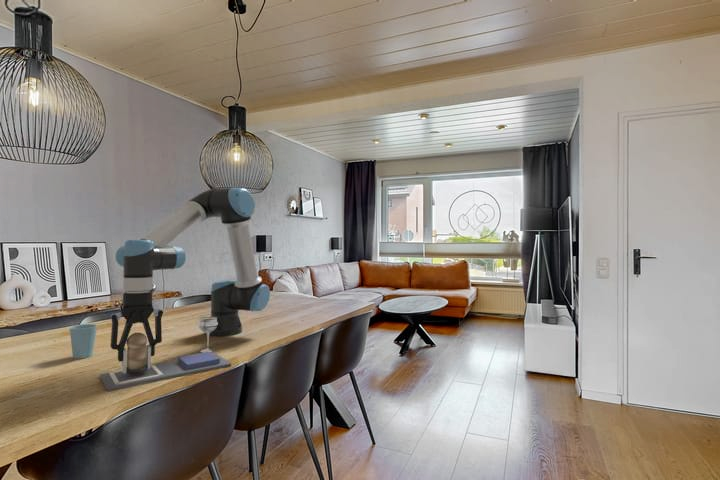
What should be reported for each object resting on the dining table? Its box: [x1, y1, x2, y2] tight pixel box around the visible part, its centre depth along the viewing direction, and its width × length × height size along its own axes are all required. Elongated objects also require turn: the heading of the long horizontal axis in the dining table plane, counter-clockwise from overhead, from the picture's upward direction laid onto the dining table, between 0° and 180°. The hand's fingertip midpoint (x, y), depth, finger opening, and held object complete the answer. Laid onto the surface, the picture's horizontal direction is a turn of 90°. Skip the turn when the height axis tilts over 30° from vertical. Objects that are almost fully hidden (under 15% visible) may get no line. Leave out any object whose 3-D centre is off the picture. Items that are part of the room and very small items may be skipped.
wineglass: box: [198, 316, 218, 353], centre depth 140 cm, size 7×7×12 cm
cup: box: [69, 323, 98, 360], centre depth 131 cm, size 8×8×10 cm
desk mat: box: [99, 352, 232, 392], centre depth 118 cm, size 34×14×2 cm, turn 131°
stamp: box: [126, 332, 148, 374], centre depth 112 cm, size 6×6×11 cm
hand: (136, 369), depth 112 cm, fingers closed on stamp, 5 cm apart
